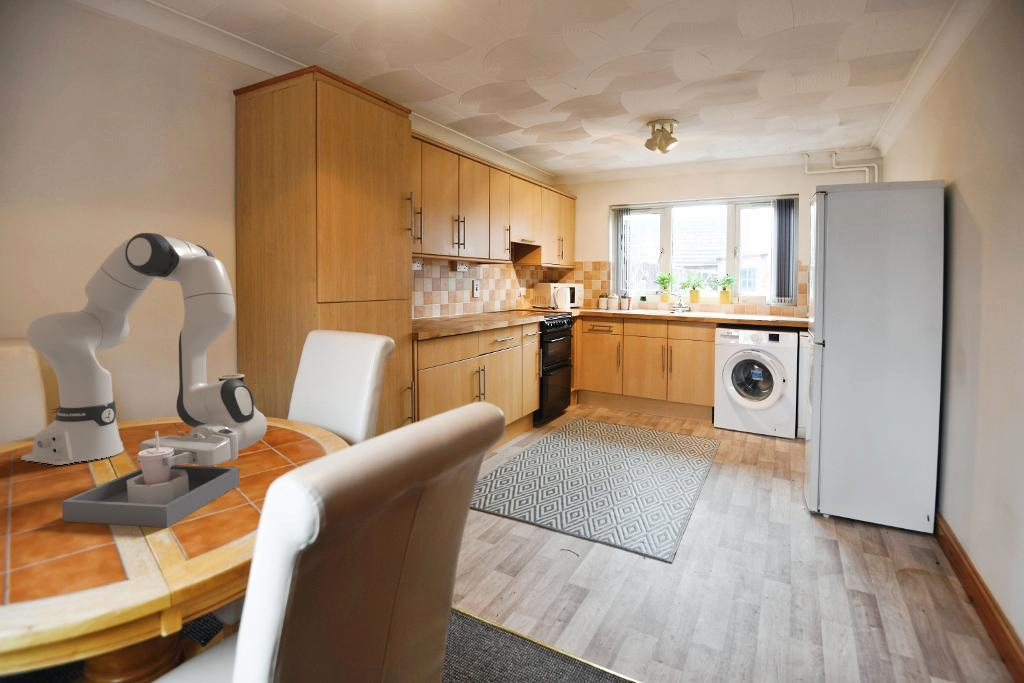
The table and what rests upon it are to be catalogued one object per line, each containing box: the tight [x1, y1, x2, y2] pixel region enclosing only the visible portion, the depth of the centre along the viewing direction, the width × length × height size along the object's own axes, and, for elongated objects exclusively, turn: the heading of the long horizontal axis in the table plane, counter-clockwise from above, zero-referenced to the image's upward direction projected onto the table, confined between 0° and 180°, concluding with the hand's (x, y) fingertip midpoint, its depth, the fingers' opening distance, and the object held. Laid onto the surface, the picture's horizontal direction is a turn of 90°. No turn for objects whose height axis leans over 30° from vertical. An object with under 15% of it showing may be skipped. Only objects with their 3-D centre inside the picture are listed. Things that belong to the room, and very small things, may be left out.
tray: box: [61, 464, 241, 528], centre depth 110 cm, size 22×22×5 cm
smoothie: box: [137, 430, 174, 485], centre depth 110 cm, size 6×6×14 cm
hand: (152, 461), depth 109 cm, fingers closed on smoothie, 6 cm apart
